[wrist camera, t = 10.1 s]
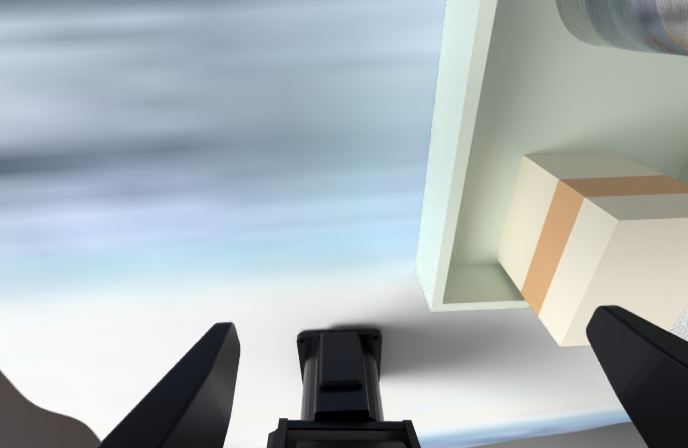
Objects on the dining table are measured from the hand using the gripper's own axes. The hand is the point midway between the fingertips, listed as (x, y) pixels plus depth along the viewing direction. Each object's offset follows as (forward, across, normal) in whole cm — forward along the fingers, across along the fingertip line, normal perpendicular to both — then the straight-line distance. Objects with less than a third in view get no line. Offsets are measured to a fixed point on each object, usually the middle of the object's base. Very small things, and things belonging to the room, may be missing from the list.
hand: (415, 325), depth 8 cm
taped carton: (+11, -11, +3) cm, 16 cm away
